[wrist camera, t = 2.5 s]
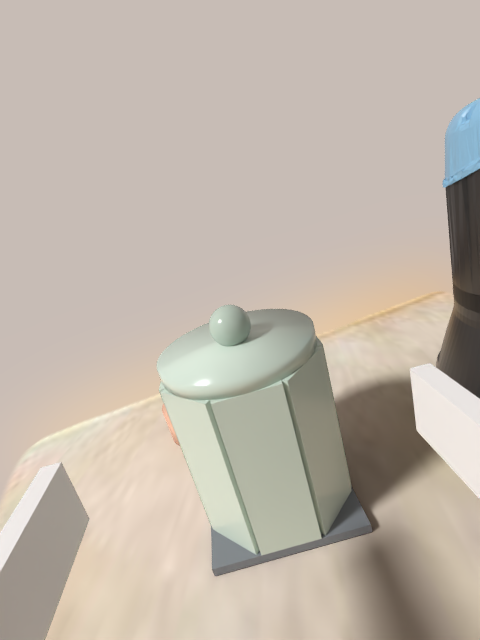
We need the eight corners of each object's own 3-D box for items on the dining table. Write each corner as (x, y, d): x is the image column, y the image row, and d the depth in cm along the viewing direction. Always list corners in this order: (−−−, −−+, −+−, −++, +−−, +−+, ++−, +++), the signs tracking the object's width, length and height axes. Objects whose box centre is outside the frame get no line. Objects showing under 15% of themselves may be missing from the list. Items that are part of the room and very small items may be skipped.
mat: (322, 433, 32) (321, 427, 32) (372, 531, 23) (370, 524, 22) (211, 464, 32) (209, 458, 32) (214, 576, 23) (212, 569, 22)
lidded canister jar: (321, 427, 32) (286, 268, 27) (370, 524, 22) (329, 307, 18) (209, 458, 32) (155, 305, 27) (212, 569, 22) (128, 363, 18)
